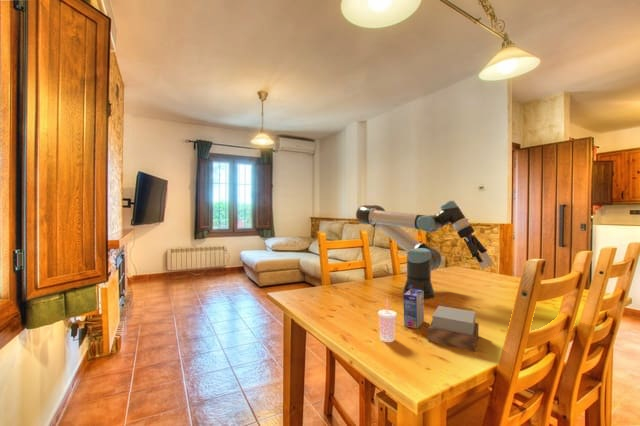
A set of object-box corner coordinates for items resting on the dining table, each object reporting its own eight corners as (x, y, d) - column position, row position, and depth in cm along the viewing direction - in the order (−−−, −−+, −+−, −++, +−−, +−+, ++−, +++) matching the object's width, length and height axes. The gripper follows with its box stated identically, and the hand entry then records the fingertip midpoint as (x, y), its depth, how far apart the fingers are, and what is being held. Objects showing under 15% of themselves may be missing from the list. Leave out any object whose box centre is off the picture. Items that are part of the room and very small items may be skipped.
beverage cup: (391, 344, 96) (391, 301, 96) (374, 339, 100) (374, 298, 100) (399, 338, 101) (399, 297, 100) (383, 333, 105) (383, 294, 104)
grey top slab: (432, 327, 99) (432, 315, 99) (438, 316, 109) (438, 305, 109) (472, 335, 93) (472, 323, 93) (475, 323, 103) (475, 311, 103)
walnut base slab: (427, 342, 99) (428, 327, 99) (436, 328, 111) (436, 315, 111) (475, 353, 91) (475, 337, 91) (478, 337, 103) (478, 322, 103)
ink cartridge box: (410, 318, 120) (410, 282, 120) (424, 320, 117) (424, 284, 117) (402, 325, 112) (403, 287, 111) (417, 329, 108) (417, 290, 108)
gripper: (463, 225, 139) (491, 266, 132) (475, 224, 158) (500, 259, 151) (449, 233, 143) (475, 273, 136) (463, 231, 162) (486, 266, 155)
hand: (488, 266), depth 143 cm, fingers open, 13 cm apart
